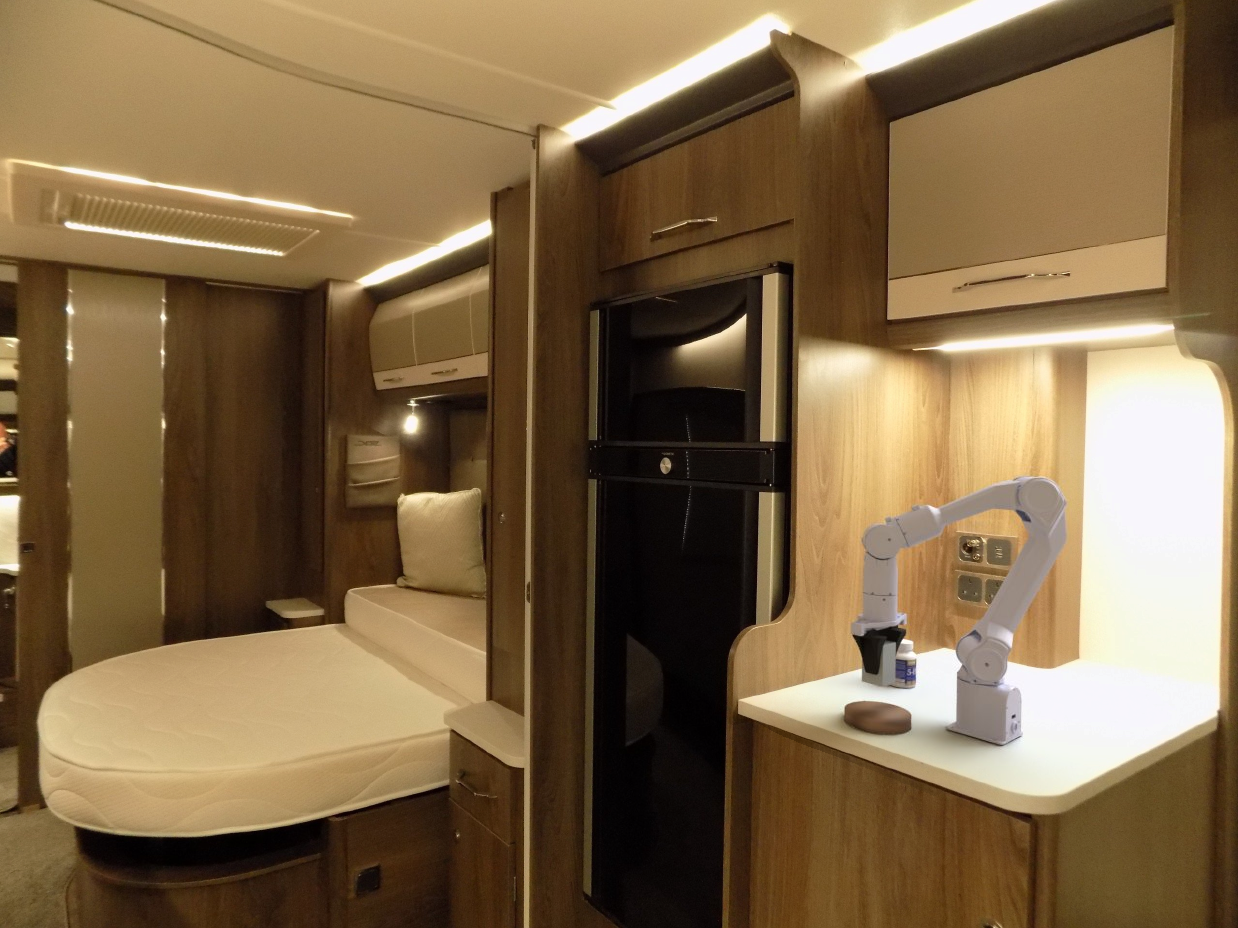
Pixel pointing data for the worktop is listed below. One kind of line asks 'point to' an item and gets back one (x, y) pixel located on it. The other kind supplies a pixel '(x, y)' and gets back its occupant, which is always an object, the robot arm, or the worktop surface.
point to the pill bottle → (905, 666)
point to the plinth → (877, 717)
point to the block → (883, 667)
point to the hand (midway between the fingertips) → (878, 670)
